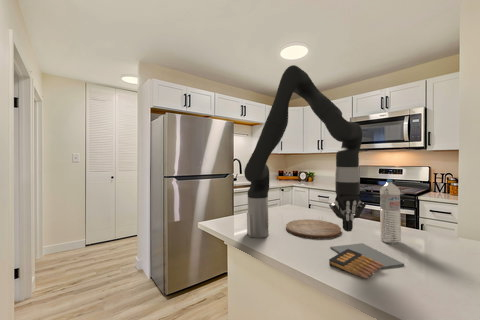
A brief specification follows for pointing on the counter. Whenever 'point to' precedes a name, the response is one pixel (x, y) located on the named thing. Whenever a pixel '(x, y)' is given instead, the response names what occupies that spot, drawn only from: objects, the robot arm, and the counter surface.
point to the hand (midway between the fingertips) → (347, 230)
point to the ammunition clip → (355, 263)
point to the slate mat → (370, 254)
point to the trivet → (313, 229)
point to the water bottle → (390, 213)
